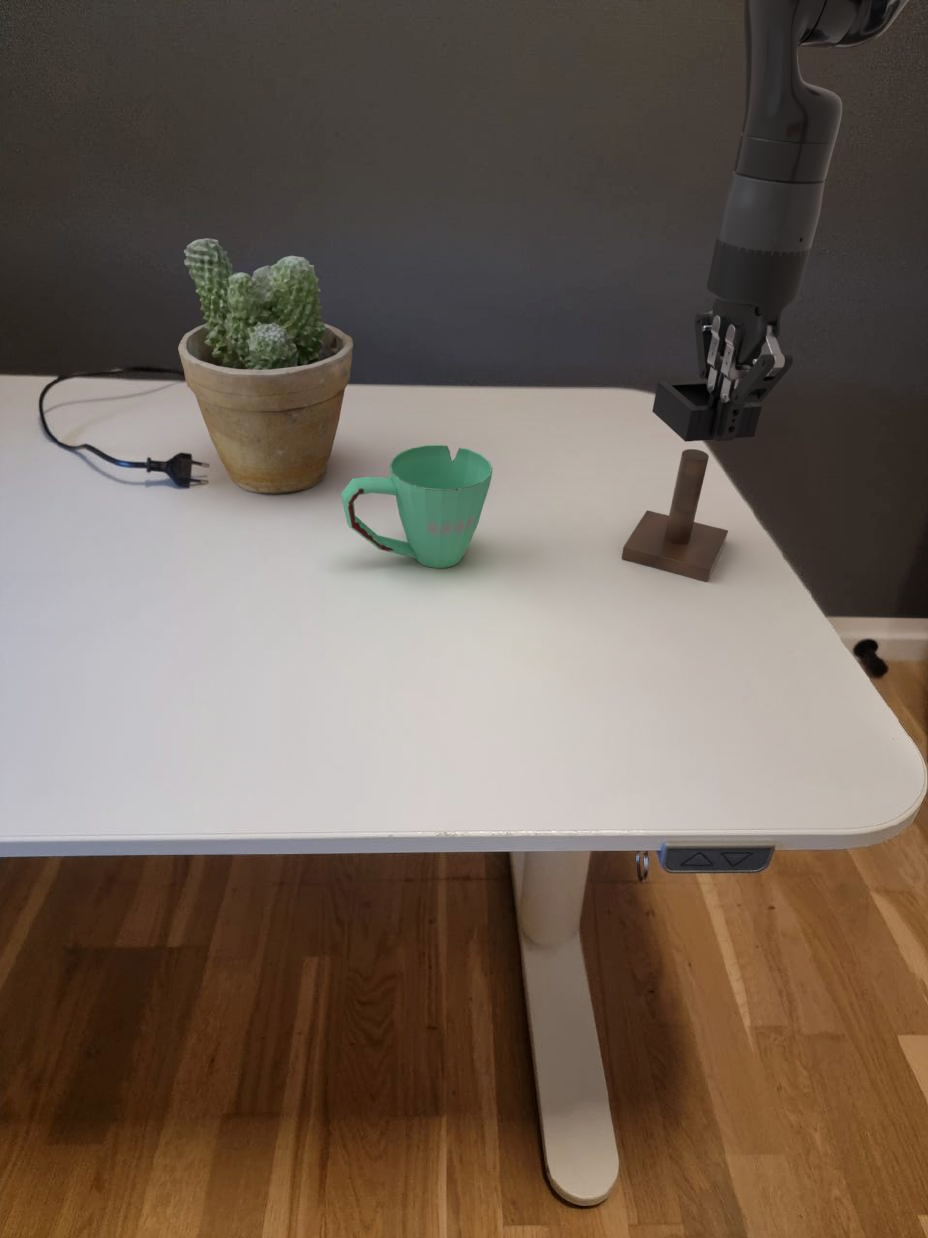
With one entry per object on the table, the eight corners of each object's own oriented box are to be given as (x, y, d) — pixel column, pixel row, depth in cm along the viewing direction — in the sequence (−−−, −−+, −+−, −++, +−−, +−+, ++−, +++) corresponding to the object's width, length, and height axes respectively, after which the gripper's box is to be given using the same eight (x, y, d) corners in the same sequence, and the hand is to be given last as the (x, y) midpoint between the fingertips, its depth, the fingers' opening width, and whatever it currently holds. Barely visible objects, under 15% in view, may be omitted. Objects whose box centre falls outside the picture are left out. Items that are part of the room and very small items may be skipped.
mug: (467, 526, 93) (471, 440, 88) (500, 573, 86) (508, 482, 80) (333, 544, 89) (329, 455, 83) (357, 596, 82) (353, 502, 76)
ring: (754, 436, 81) (762, 406, 79) (685, 441, 79) (691, 410, 78) (717, 407, 87) (724, 378, 85) (651, 411, 85) (657, 381, 83)
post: (725, 542, 93) (749, 447, 87) (707, 582, 87) (732, 483, 80) (644, 521, 96) (662, 428, 90) (621, 558, 89) (638, 461, 83)
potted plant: (361, 442, 110) (356, 231, 95) (350, 513, 95) (342, 275, 80) (215, 438, 109) (187, 224, 94) (180, 508, 94) (141, 267, 79)
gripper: (854, 256, 66) (793, 464, 76) (761, 219, 77) (719, 406, 87) (767, 258, 64) (717, 470, 74) (685, 219, 75) (650, 410, 85)
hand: (718, 435), depth 80 cm, fingers closed on ring, 1 cm apart
